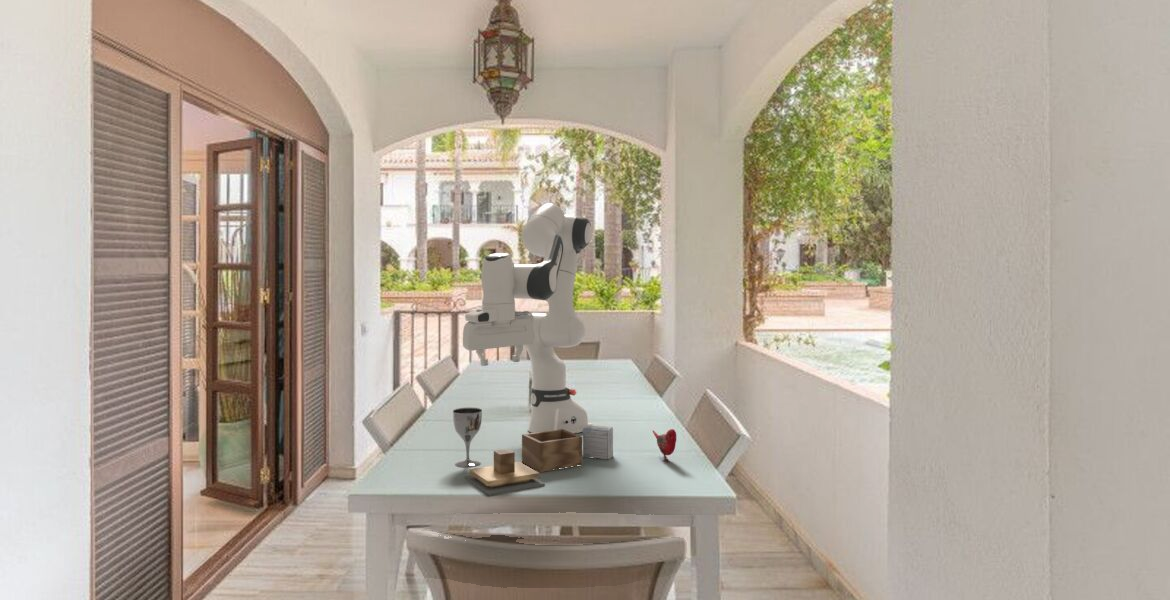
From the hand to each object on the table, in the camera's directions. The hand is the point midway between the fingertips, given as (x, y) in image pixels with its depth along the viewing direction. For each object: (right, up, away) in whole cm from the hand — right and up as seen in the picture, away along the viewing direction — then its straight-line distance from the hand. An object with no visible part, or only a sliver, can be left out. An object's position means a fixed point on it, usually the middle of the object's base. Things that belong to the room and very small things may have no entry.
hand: (500, 363), depth 196 cm
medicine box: (+27, -28, +10) cm, 40 cm away
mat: (+2, -29, -13) cm, 32 cm away
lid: (+2, -27, -13) cm, 31 cm away
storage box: (+14, -28, +3) cm, 32 cm away
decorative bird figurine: (+45, -28, +9) cm, 54 cm away
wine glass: (-9, -28, +3) cm, 30 cm away
